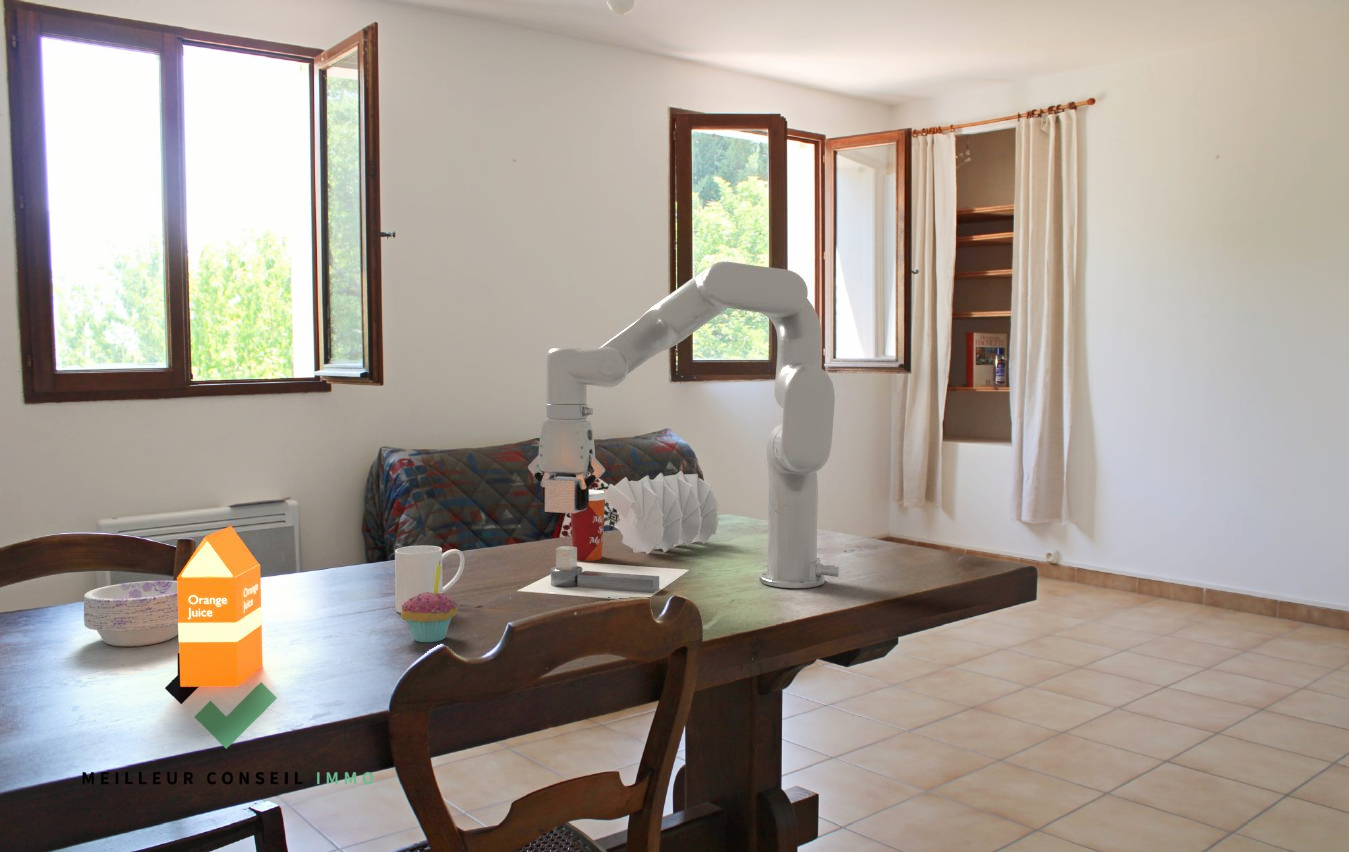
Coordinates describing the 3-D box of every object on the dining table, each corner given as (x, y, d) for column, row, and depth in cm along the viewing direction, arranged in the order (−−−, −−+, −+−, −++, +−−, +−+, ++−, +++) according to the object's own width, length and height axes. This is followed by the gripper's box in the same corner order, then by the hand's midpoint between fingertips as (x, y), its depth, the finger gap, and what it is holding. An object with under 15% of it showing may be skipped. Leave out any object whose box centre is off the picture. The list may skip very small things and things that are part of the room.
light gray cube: (586, 509, 191) (586, 477, 191) (574, 513, 186) (574, 481, 185) (558, 507, 193) (558, 476, 193) (544, 511, 188) (544, 479, 187)
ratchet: (545, 586, 188) (545, 549, 188) (558, 579, 194) (558, 544, 194) (651, 594, 182) (651, 556, 182) (661, 587, 188) (661, 550, 187)
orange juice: (263, 666, 141) (260, 525, 140) (238, 686, 132) (234, 536, 131) (207, 666, 141) (203, 525, 139) (178, 686, 132) (174, 536, 130)
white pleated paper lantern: (713, 561, 236) (639, 572, 217) (664, 521, 246) (590, 529, 228) (742, 495, 230) (669, 500, 211) (691, 457, 241) (617, 459, 222)
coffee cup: (604, 564, 212) (604, 494, 211) (566, 564, 212) (565, 494, 211) (608, 556, 220) (608, 489, 219) (571, 556, 220) (570, 488, 219)
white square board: (689, 572, 204) (689, 569, 204) (644, 604, 177) (644, 601, 177) (576, 564, 211) (576, 561, 211) (516, 594, 185) (516, 590, 185)
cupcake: (435, 628, 161) (434, 554, 160) (469, 637, 156) (468, 561, 155) (390, 639, 154) (388, 562, 154) (423, 649, 149) (422, 570, 148)
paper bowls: (180, 621, 165) (179, 573, 164) (209, 640, 154) (208, 589, 153) (74, 637, 155) (73, 587, 154) (97, 659, 144) (95, 605, 143)
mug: (404, 617, 168) (403, 555, 167) (389, 607, 174) (388, 548, 173) (473, 607, 174) (472, 548, 174) (455, 598, 181) (455, 541, 180)
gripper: (616, 413, 189) (615, 508, 190) (533, 411, 194) (533, 503, 196) (601, 415, 182) (600, 513, 183) (515, 413, 187) (515, 508, 188)
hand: (565, 507), depth 189 cm, fingers closed on light gray cube, 6 cm apart
